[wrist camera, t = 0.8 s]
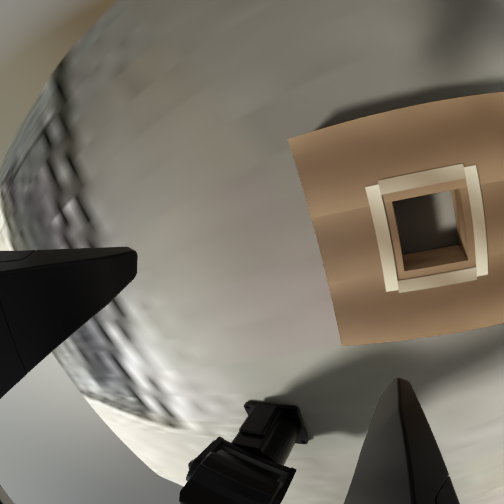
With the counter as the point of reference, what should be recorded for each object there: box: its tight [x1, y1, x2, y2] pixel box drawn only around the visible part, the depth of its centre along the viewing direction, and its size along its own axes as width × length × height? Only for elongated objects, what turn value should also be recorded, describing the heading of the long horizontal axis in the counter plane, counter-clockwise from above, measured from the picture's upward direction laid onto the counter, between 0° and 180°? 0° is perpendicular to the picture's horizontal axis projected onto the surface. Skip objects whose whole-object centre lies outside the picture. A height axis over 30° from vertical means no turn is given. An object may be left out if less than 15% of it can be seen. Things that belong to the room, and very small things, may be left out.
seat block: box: [288, 92, 504, 346], centre depth 16 cm, size 14×14×3 cm
